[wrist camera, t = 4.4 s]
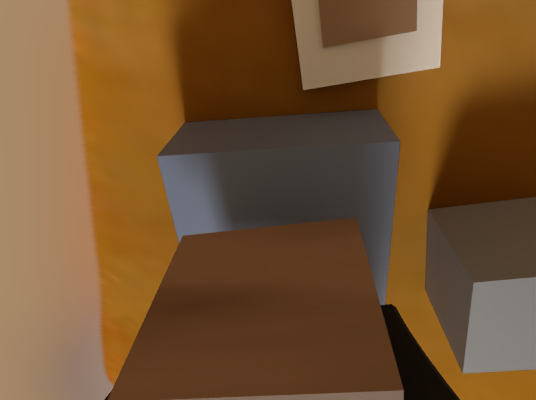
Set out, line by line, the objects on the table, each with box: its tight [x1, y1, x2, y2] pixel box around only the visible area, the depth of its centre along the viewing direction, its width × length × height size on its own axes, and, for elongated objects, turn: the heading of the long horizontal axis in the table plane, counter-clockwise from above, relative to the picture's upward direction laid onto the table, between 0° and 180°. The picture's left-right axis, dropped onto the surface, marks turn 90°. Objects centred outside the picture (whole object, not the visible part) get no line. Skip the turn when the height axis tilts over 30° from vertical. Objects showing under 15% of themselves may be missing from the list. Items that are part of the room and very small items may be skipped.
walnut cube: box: [108, 218, 404, 400], centre depth 9 cm, size 5×5×5 cm
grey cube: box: [425, 197, 536, 373], centre depth 16 cm, size 5×5×5 cm
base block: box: [157, 109, 400, 305], centre depth 16 cm, size 8×8×4 cm
